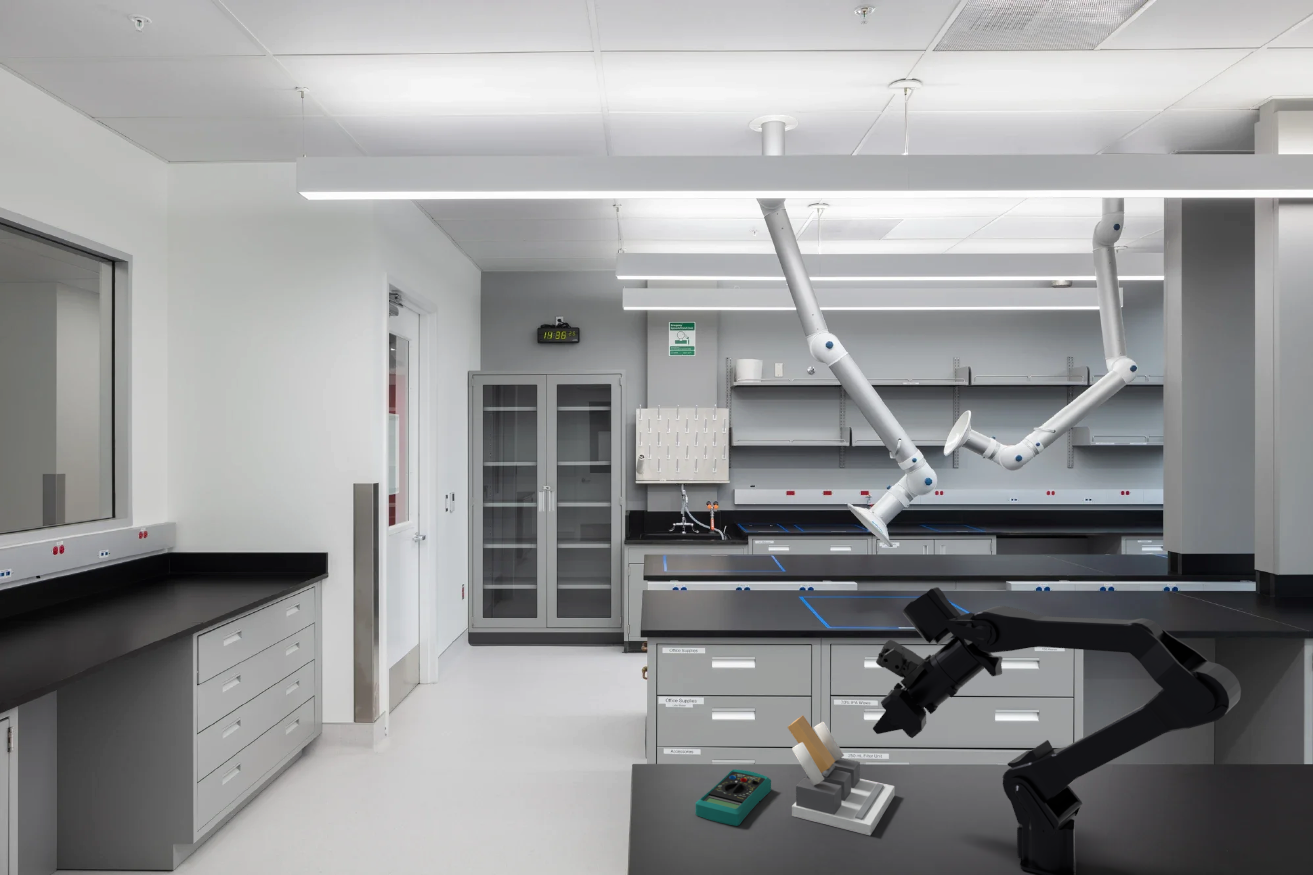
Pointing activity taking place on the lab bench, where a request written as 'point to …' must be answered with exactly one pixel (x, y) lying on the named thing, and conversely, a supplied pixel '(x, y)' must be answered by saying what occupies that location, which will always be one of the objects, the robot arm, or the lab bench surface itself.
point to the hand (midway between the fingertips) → (875, 730)
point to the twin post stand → (839, 791)
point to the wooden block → (812, 745)
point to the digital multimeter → (733, 797)
